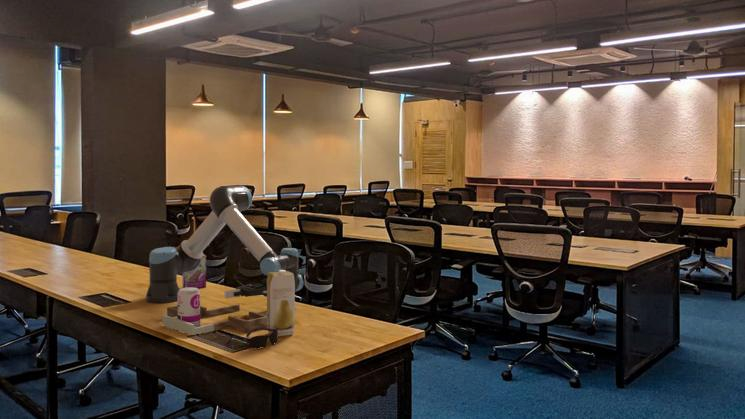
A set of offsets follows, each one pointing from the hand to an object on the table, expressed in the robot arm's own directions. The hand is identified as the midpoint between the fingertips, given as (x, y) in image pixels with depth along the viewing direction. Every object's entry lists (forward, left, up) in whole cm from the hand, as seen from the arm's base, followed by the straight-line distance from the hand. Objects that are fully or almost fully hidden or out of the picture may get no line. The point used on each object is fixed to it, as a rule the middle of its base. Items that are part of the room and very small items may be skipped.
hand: (225, 294), depth 241 cm
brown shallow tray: (0, 0, -10) cm, 10 cm away
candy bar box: (-27, +65, -11) cm, 71 cm away
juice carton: (+23, -20, -10) cm, 33 cm away
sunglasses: (+15, -31, -11) cm, 36 cm away
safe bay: (-12, -12, -10) cm, 20 cm away
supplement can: (-12, -11, -10) cm, 19 cm away
